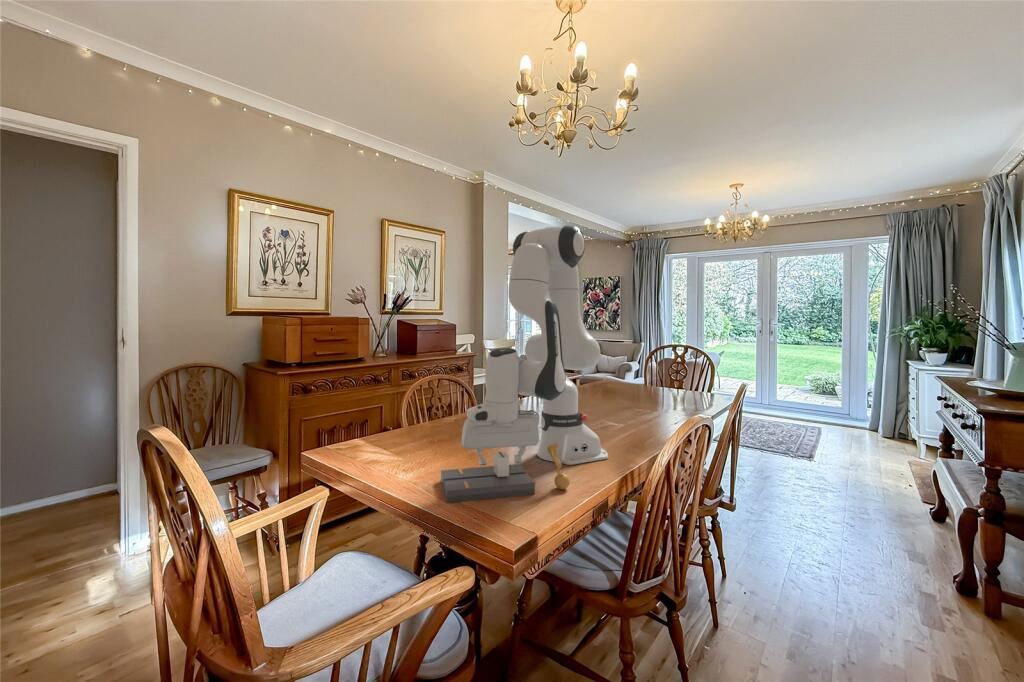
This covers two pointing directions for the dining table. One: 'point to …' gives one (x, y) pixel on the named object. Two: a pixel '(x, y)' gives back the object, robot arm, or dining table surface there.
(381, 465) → the dining table surface
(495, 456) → the fader tab
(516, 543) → the dining table surface
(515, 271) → the robot arm
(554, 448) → the figurine
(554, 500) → the dining table surface
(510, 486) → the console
